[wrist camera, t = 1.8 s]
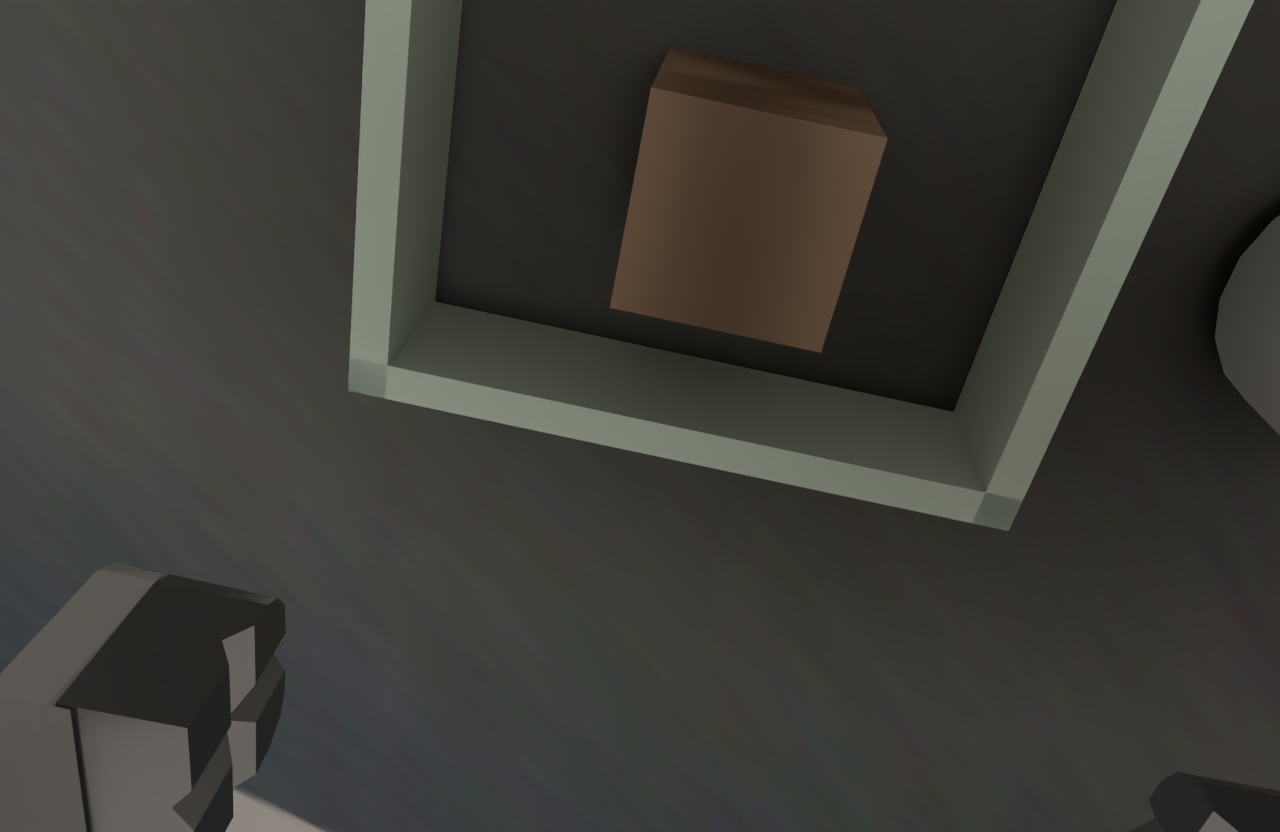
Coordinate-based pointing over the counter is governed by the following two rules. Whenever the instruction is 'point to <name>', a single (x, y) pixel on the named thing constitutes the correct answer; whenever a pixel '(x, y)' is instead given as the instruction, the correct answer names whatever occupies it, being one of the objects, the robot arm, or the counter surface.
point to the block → (746, 199)
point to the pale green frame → (756, 400)
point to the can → (1254, 325)
